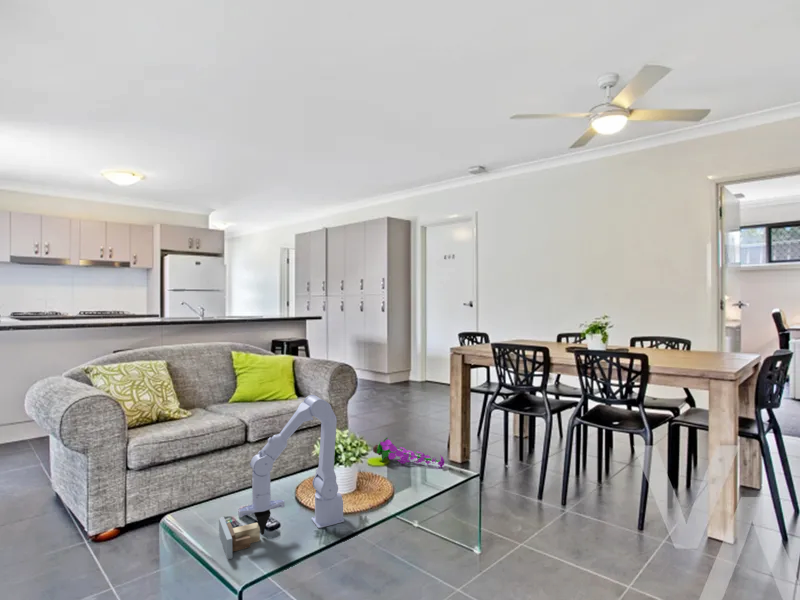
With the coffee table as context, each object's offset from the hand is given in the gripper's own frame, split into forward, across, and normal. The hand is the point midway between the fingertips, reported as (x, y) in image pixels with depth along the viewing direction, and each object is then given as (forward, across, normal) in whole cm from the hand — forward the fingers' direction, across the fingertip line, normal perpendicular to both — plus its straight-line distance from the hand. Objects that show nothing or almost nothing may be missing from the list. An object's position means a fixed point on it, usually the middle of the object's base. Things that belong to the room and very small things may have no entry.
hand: (262, 533), depth 154 cm
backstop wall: (+1, +11, 0) cm, 11 cm away
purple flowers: (+2, -76, -35) cm, 84 cm away
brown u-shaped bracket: (+1, +8, 0) cm, 8 cm away
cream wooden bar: (+1, +5, 0) cm, 5 cm away
